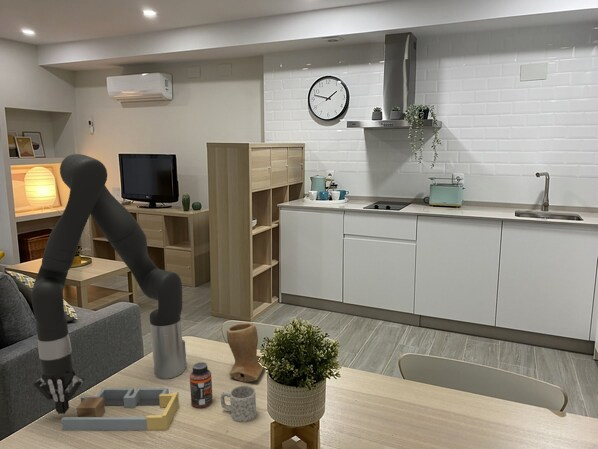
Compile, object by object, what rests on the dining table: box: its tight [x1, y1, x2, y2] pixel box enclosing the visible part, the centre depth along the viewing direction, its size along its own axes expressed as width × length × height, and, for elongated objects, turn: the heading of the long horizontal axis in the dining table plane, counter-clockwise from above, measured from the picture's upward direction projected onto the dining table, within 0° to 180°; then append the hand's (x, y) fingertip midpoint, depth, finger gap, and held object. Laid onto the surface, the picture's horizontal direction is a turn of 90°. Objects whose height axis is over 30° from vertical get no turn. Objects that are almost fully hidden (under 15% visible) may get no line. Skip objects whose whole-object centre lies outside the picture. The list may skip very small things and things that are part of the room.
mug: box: [220, 385, 257, 423], centre depth 124 cm, size 10×7×7 cm
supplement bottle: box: [189, 361, 214, 409], centre depth 129 cm, size 6×6×11 cm
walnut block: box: [75, 397, 106, 417], centre depth 124 cm, size 5×5×4 cm
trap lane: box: [61, 387, 170, 431], centre depth 126 cm, size 23×15×3 cm, turn 88°
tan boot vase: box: [226, 322, 265, 383], centre depth 146 cm, size 15×12×15 cm
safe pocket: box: [145, 391, 180, 431], centre depth 123 cm, size 5×11×4 cm, turn 178°
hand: (63, 412), depth 124 cm, fingers closed
